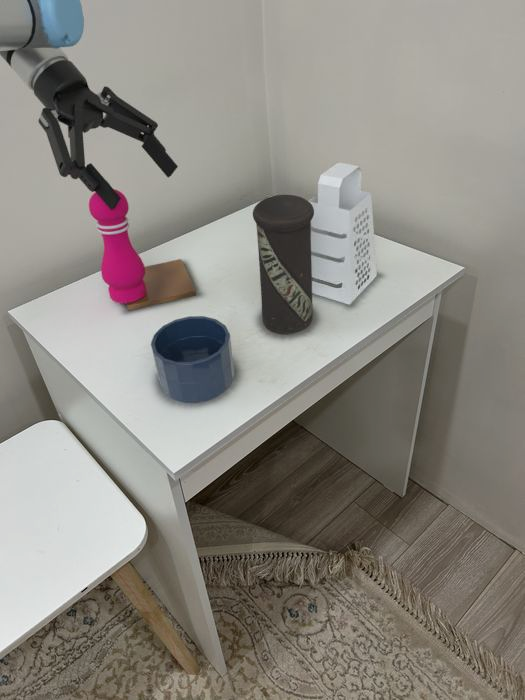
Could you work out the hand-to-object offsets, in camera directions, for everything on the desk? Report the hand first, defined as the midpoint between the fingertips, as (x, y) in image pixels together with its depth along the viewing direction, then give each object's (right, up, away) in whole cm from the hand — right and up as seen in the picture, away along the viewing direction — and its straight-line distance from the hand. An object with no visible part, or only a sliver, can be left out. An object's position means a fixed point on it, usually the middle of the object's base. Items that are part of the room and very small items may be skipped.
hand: (146, 187), depth 85 cm
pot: (+9, -29, -7) cm, 31 cm away
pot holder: (-1, -14, +13) cm, 19 cm away
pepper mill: (-5, -16, +9) cm, 19 cm away
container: (+22, -21, +3) cm, 31 cm away
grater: (+31, -14, +11) cm, 36 cm away
